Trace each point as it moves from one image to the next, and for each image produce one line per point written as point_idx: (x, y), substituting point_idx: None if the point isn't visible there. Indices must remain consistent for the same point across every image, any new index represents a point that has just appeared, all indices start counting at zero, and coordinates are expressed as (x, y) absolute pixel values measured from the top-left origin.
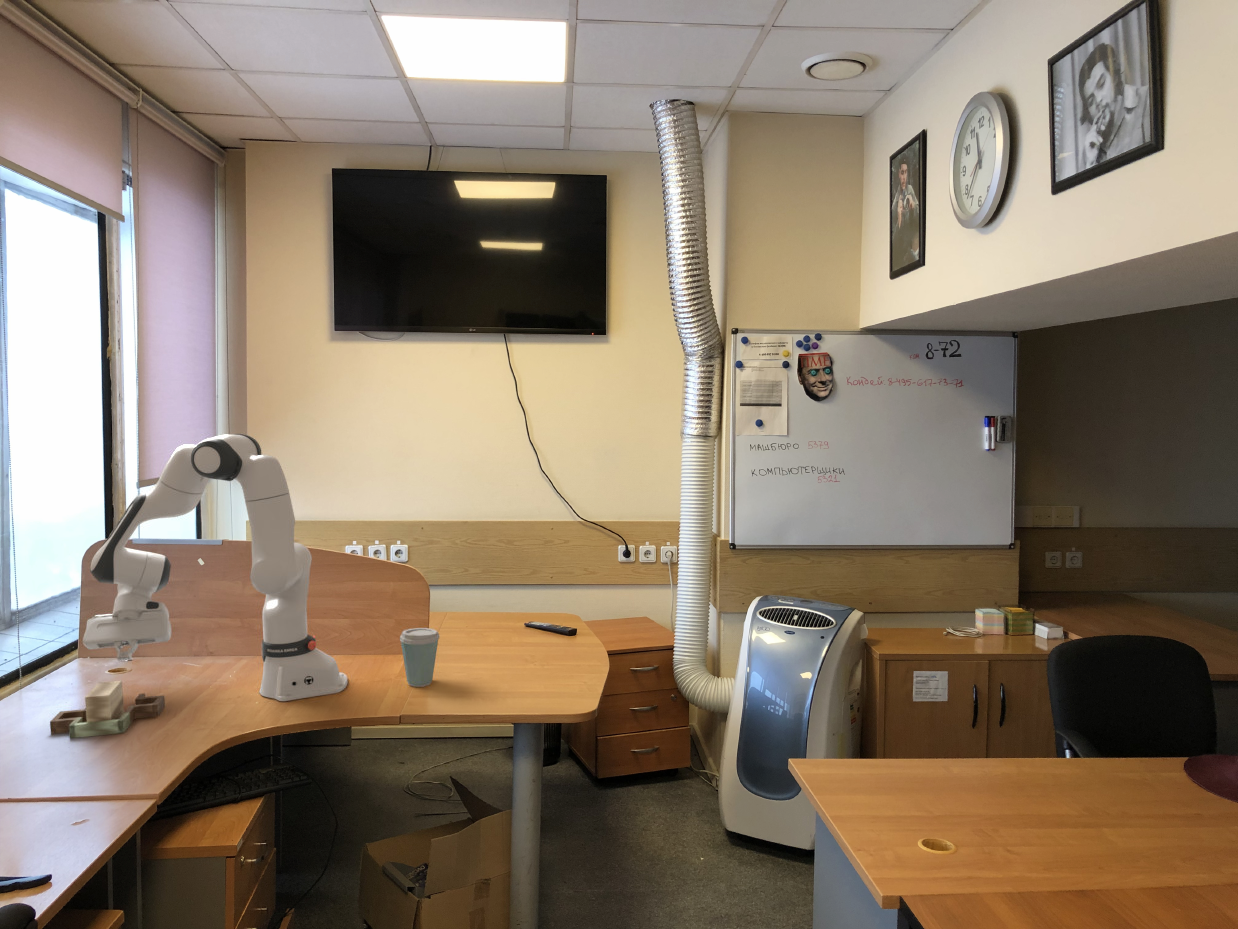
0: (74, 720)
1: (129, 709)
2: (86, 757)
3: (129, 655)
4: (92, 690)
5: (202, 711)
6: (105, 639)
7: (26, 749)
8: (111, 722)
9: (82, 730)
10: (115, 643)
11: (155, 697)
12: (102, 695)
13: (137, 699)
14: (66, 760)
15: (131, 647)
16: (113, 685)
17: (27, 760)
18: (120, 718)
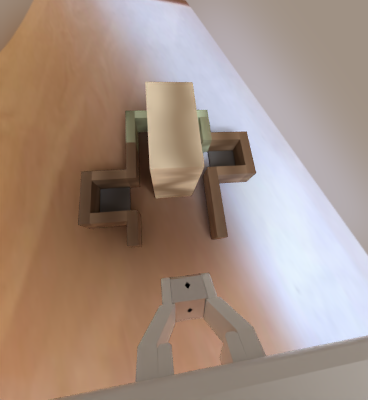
0: (209, 128)
1: (130, 157)
2: (152, 66)
3: (161, 282)
4: (195, 116)
5: (9, 189)
6: (333, 359)
7: (241, 103)
8: (144, 111)
9: None
10: (255, 346)
11: (95, 213)
12: (158, 82)
13: (132, 210)
14: (173, 64)
15: (158, 321)
16: (158, 137)
17: (221, 74)
18: (133, 120)
